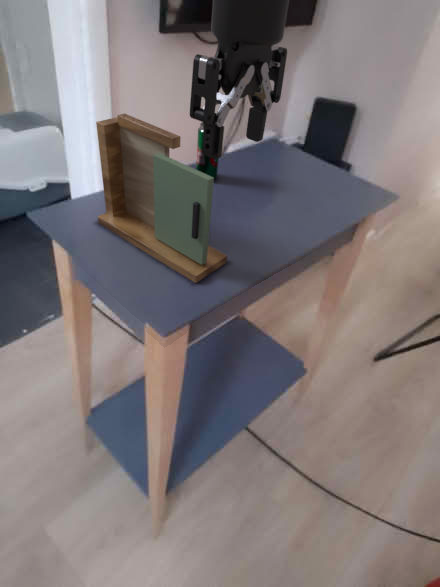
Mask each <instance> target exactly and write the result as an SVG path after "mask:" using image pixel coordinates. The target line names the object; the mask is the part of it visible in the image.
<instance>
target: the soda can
mask: <svg viewBox="0 0 440 587" xmlns="http://www.w3.org/2000/svg"><path fill="white" fill-rule="evenodd" d="M203 129H204V125H203V122H201V123H199V127H198V129H197V141H196V142H197V144H196V160H195V162H196V163H195V169H196V170H198V171H200V172H202V173H205V174H207V175H209V176H211V177H213V178H214V180H216V179H217V178H218V170H219V159H220V158H218V159H213V158H210V157H208V156H206V155H205V154H204V152H203V148H202V146H203Z"/></svg>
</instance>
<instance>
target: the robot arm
mask: <svg viewBox="0 0 440 587" xmlns="http://www.w3.org/2000/svg"><path fill="white" fill-rule="evenodd" d="M289 5H290V0H212V8H211V21H210V22H211V23H210V25H211V26H210V31H211V33H212V35H213V36H214V37H215V38H216V40H217V47H216V51H215V54H214V56H208V55H203V54H199V53H197V54H195V56H194V57H193V62H192V76H191V89H190V102H189V117H190V118H191V119H194V120H196V121H199V122H201V123H202V122H203V125H204V129H203V146H202V148H203V152H204V154H205V155H206V156H208V157H210V158H213V159H218V158H219V159H220V158H221V157H222V154H223V143H224V134H225V125H224V123H225V121H226V119H227V117H228V115H229V113H230V111H231V110H233V109H235V108H236V107H237V105H238V103H239V101H240V100H241V99H243V98H245V97H246V96H247V97H248V100H249V104H250V106H251V107H249V110H248V118H247V126H246V132H245V136H246V138H247V139H248V140H249V141H252V142H255V143H259V142H261V141H262V140H263V139H264V134H265V128H266V123H267V115H268V112H269V111H270V110H271V109H272V106H273V104H278V103H279V102H280V101H281V98H282V89H283V83H284V77H285V69H286V64H287V56H288V48H286V47H282V46H279V45H278V44H280V43H281V42H282V41H283V39H284V34H285V28H286V22H287V16H288V9H289ZM271 81H272V82H273V88H272V84H271ZM221 90H222V92H223V93H221V92H220V91H221ZM202 98H203V99H204V101H205V102H204V106H203V108H202V100H203V99H202ZM217 105H220V106H219V108H218V110H217V113H216V107H217Z"/></svg>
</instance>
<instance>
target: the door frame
mask: <svg viewBox="0 0 440 587" xmlns="http://www.w3.org/2000/svg"><path fill="white" fill-rule="evenodd" d="M95 126H96V132H97V141H98V151H99V152H98V153H99V159H100V160H99V161H100V169H101V178H102V184H103V185H102V186H103V187H102V188H103V194H104V205H105V212H104V213H102V214H100V215H98V216H97V222H98V224H99V225H100V226H102V227H104V228H105V229H106V230H108V231H110V232H112V233H113V234H115V235H117V236H119V237H120V238H122V239H123V240H125V241H127V242H128V243H130V244H132V245H133V246H135V247H136V248H138V249H140V250H141V251H143V252H144V253H145V254H148V255H149V256H151V257H153V258H154V259H156V260H157V261H159V262H160V263H162V264H164V265H165V266H167V267H169V268H170V269H172V270H173V271H175V272H177V273H178V274H180V275H182V276H183V277H185V278H187V279H188V280H190V281H191V282H193V283H195V284H197V283H198V282H200V281H201V280H203V279H204V278H206V277H207V276H209V275H210V274H212V273H214V272H215V271H216V270H218V269H220V268H221V267H222V266H224V265H225V264H227V261H228V260H227V259H228V254H225V253H224V252H221V251H220V250H218V249H216V248H214V247H212V246H211V245H209V244H208V252H207V262H206V263H204V264H203V265H201V264H199V263H198V262H196V261H194V260H192V259H191V258H189V257H187V256H186V255H184V254H182V253H180V252H179V251H177V250H175V249H174V248H172V247H170V246H169V245H167V244H165V243H163V242H162V241H160V240H158V239H157V238H155V216H154V168H153V155H154V154H157V153H160V154H162V155H165V156H167V157H169V158H170V149H171V150H175V149H178V148H181V136H180V135H178V134H175V133H173V132H171V131H169V130H166V129H164V128H161V127H159V126H156V125H154V124H151V123H149V122H146V121H144V120H142V119H139V118H136V117H134V116H132V115H130V114H127V113H121V114H117V116H116V117H112V118H106V119H102V120H99V121H96V124H95Z"/></svg>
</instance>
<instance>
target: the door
mask: <svg viewBox="0 0 440 587" xmlns="http://www.w3.org/2000/svg"><path fill="white" fill-rule="evenodd" d="M153 168H154V216H155V238H157V239H158V240H160V241H162V242H163V243H165V244H167V245H169V246H170V247H172V248H174V249H175V250H177V251H179V252H180V253H182V254H184V255H186V256H187V257H189V258H191V259H192V260H194V261H196V262H198V263H199V264H201V265H203V264H204V263H206V262H207V252H208V245H209V240H210V239H209V238H210V227H211V219H212V218H211V216H212V206H213V194H214V192H213V191H214V183H215V182H214V181H215V179H214V178H213V177H211V176H209V175H207V174H205V173H202V172H200V171H198V170H196V168H193V167H191V166H189V165H187V164H184V163H183V162H180V161H177V160H176V159H174V158H171V157H170V156H169V157H167V156H165V155H162V154H160V153H157V154H154V155H153Z"/></svg>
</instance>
